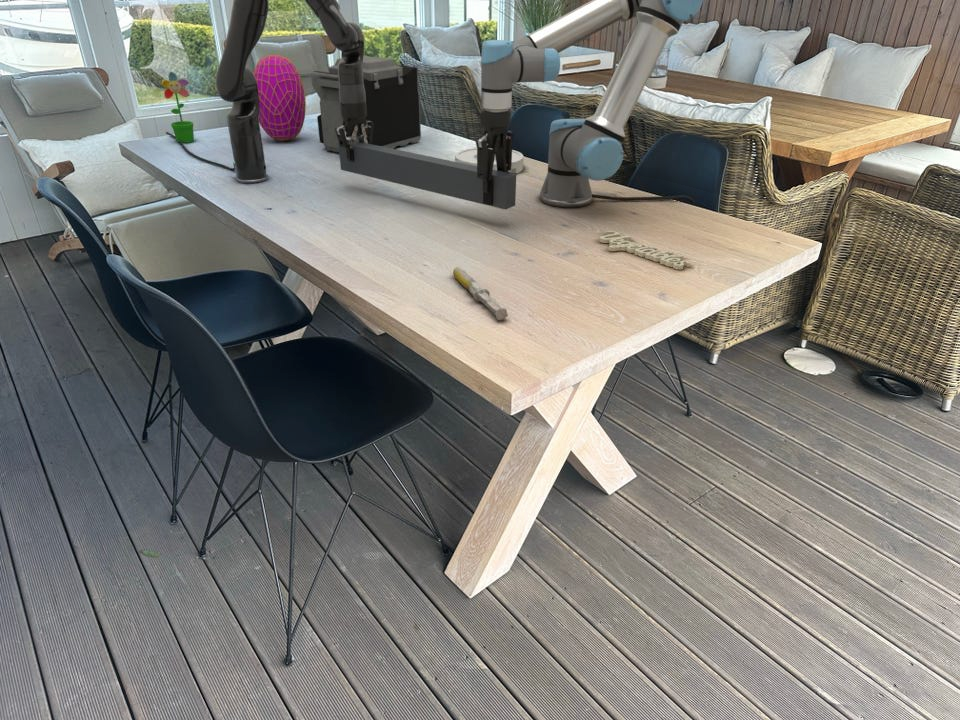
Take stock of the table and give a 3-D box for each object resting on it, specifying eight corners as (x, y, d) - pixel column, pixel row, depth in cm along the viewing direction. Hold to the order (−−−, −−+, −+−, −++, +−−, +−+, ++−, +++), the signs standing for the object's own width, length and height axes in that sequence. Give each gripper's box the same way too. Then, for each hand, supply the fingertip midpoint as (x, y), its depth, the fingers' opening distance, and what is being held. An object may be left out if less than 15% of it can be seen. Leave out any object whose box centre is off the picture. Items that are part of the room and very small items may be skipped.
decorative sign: (585, 238, 173) (610, 229, 179) (584, 241, 173) (610, 233, 179) (673, 269, 156) (698, 259, 162) (672, 273, 156) (697, 262, 162)
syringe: (449, 274, 155) (449, 263, 153) (465, 272, 156) (464, 260, 154) (490, 323, 135) (491, 310, 133) (508, 319, 136) (508, 307, 134)
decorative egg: (293, 132, 276) (283, 50, 261) (319, 140, 264) (310, 56, 249) (249, 139, 265) (236, 54, 250) (273, 148, 253) (261, 60, 238)
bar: (515, 205, 180) (516, 174, 176) (505, 209, 177) (506, 178, 173) (351, 166, 212) (349, 139, 208) (340, 169, 209) (338, 142, 205)
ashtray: (457, 158, 244) (457, 146, 242) (522, 159, 243) (522, 147, 241) (452, 176, 224) (452, 163, 222) (523, 177, 223) (524, 165, 221)
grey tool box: (383, 133, 276) (378, 52, 261) (425, 141, 265) (422, 56, 250) (314, 150, 251) (304, 61, 235) (358, 160, 240) (350, 67, 224)
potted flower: (174, 144, 256) (159, 72, 244) (172, 140, 262) (157, 69, 250) (201, 142, 260) (187, 71, 247) (197, 137, 266) (184, 68, 253)
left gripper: (361, 95, 204) (365, 153, 213) (325, 101, 194) (330, 162, 203) (379, 98, 200) (383, 157, 209) (343, 104, 190) (348, 166, 199)
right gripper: (504, 102, 178) (501, 191, 189) (461, 112, 165) (462, 206, 177) (528, 106, 174) (524, 196, 186) (486, 116, 162) (485, 212, 173)
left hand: (357, 159), depth 206 cm, fingers closed on bar, 4 cm apart
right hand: (493, 201), depth 181 cm, fingers closed on bar, 4 cm apart
